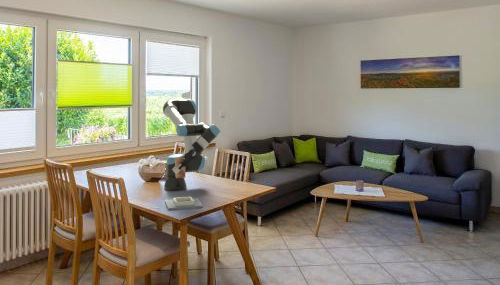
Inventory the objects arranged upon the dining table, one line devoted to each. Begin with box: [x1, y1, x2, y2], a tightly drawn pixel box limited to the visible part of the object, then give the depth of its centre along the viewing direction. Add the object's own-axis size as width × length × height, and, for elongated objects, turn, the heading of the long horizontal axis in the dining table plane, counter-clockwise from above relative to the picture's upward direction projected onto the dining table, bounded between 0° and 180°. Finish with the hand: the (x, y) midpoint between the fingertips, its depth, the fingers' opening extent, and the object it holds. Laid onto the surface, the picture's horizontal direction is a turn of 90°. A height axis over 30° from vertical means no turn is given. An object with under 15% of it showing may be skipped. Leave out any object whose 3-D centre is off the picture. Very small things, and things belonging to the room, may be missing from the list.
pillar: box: [175, 157, 186, 179], centre depth 252 cm, size 6×6×12 cm
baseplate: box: [164, 196, 204, 211], centre depth 239 cm, size 20×18×3 cm
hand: (174, 171), depth 251 cm, fingers closed on pillar, 5 cm apart
